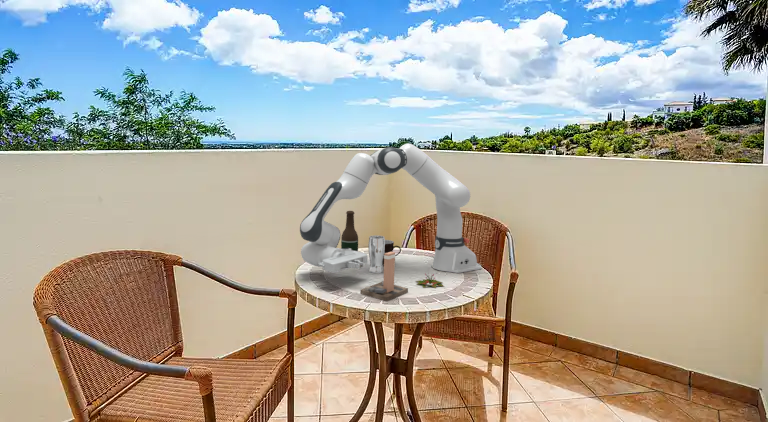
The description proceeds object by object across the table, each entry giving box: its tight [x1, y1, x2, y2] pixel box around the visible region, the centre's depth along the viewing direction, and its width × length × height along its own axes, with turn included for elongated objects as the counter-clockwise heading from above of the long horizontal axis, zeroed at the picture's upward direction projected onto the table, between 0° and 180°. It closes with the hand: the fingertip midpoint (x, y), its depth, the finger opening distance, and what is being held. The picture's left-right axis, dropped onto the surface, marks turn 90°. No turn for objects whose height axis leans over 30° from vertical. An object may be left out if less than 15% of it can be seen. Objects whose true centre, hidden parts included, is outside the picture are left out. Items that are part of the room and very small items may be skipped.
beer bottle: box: [340, 210, 359, 252], centre depth 203 cm, size 8×8×24 cm
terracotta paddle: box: [382, 251, 396, 293], centre depth 162 cm, size 2×4×14 cm, turn 143°
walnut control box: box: [360, 281, 409, 302], centre depth 166 cm, size 12×13×3 cm
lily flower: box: [415, 272, 444, 289], centre depth 178 cm, size 12×12×5 cm
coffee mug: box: [382, 239, 402, 266], centre depth 206 cm, size 12×9×10 cm
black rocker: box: [374, 288, 387, 293], centre depth 160 cm, size 4×2×1 cm, turn 53°
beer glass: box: [367, 234, 386, 274], centre depth 193 cm, size 7×7×15 cm
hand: (361, 265), depth 169 cm, fingers closed
